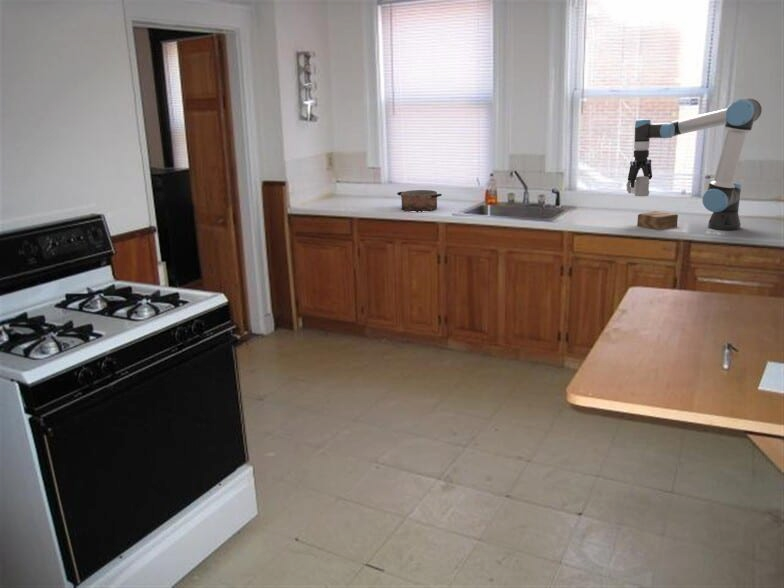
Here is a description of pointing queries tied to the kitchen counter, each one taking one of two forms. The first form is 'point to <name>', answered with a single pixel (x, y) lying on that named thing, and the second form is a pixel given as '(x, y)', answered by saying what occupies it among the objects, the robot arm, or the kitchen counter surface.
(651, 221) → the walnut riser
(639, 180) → the mug
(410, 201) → the cooking pot
